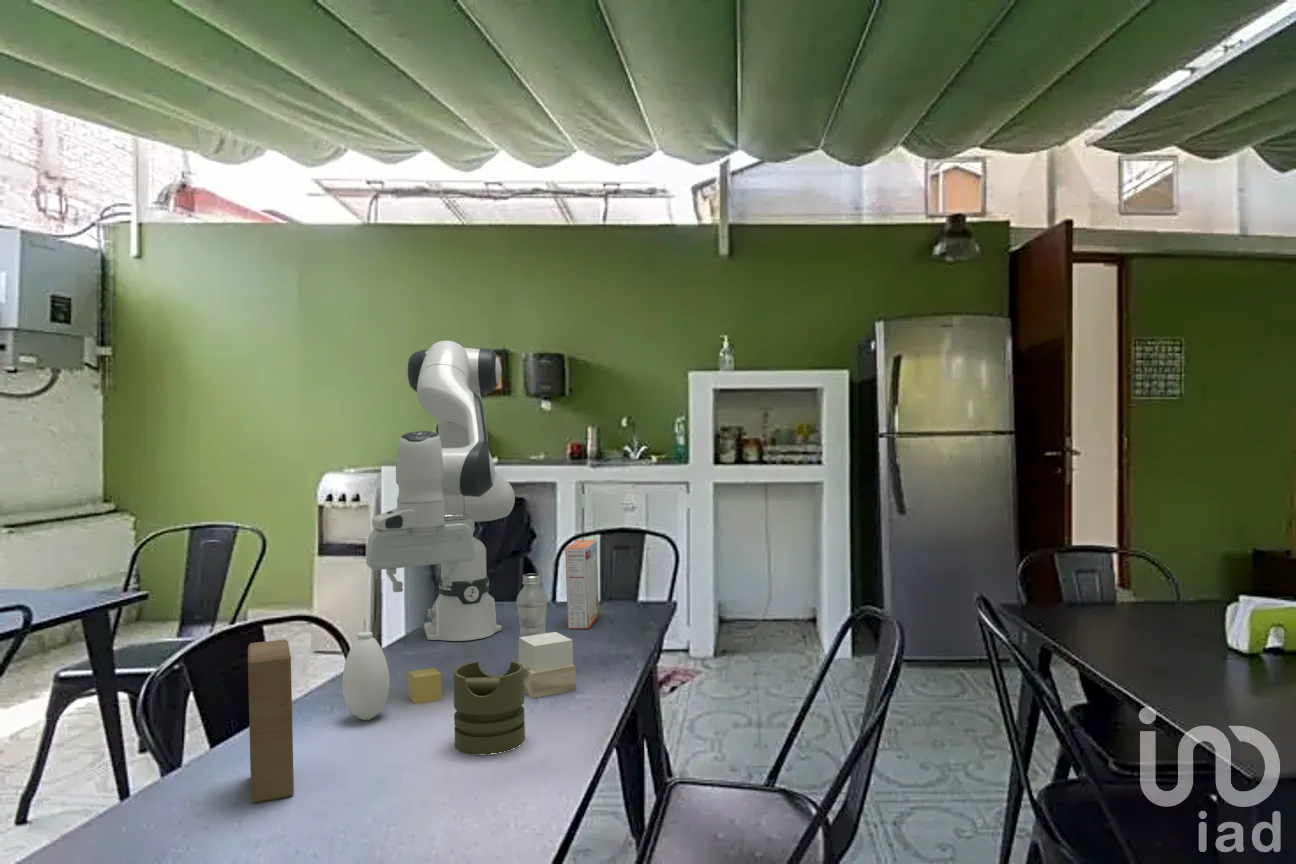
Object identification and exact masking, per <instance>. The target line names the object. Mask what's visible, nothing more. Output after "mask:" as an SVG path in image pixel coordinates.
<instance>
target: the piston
mask: <svg viewBox="0 0 1296 864" xmlns="http://www.w3.org/2000/svg"><path fill="white" fill-rule="evenodd" d="M452 675H453V678H452V679H453V709H455V710H456V711H455V712H454V715H453V716H454V719H453V722H454V747H455V749H456V750H457V751H458V750H459V751H458V752H460V751H461V752H460V753H463V754H466V753H468V754H467V755H471V754H491V753H499V752H504V751H508V750H511V749H513V748H516V747H518V746H519V745H521V744H522V743H523V742H524V740H525V741H526V727H525V723H526V722H525V716H526V715H525V707H524V706H523V705H524V703H525V693H524V667H523V665H522V664H521V663H518V661H514V660H510V667H509V669H508V670H507V672H505V673H504V674H500V675H498V676H497V675H495V676H494V675H490V674H488V673H487V672H484V671H483V670H482V669H481V667H480V664H479V661H472V662H468V663H467V662H466V663H465V664H464V663H463V664H461V665H458V666H457V667H455V669H454V670H453V674H452ZM524 743H525V742H524ZM524 743H523V744H524ZM523 744H522V745H523ZM522 745H521V746H522ZM518 748H519V747H518ZM516 749H517V748H516ZM511 751H512V750H511ZM508 752H509V751H508Z"/></svg>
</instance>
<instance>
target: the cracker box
mask: <svg viewBox="0 0 1296 864" xmlns="http://www.w3.org/2000/svg"><path fill="white" fill-rule="evenodd" d="M564 551H565V552H564V554H565V578H566V579H565V581H566V608H567V609H566V610H567V629H568V630H589V629H590V628H591V627H592V626H593V625H594V623H595V622H596V621H597V620H598V618H599V617H600V601H599V574H598V573H599V571H598V570H599V569H598V541H597V539H595V540H594V539H578V540H576V541H574V542H572V544H570V545H568V546H567V547H565V549H564Z"/></svg>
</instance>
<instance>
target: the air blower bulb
mask: <svg viewBox="0 0 1296 864" xmlns="http://www.w3.org/2000/svg"><path fill="white" fill-rule="evenodd" d="M356 637H357V638H356V640H354V642H353V643H352V645H351V647H350V649H349V651H348V654H347V656H346V659H345V662H344V667H343V673H342V682H341V683H342V696H343V700H344V703H345V705H346V707H347V709H348V711H349V712H350V714H352V715H355V716H356V718H357V719H360V720H363V721H369V720H372V719H373V718H374V717H376V716H378V713H379V712H381V711H382V710H383V709H384V707H385V705H386V702H387V701H388V697H389V693H390V672H389V671H390V670H389V667H388V666H389V665H388V662H387V659H386V656H385V653H384V650H383V649H382V647H381V645H380V644H379V642H378V640H376V638H374V634H373V632H372V631H367V620H366V618H365V617H364V618H363V631H360V632H358V633H357V635H356Z"/></svg>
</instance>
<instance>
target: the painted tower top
mask: <svg viewBox="0 0 1296 864" xmlns="http://www.w3.org/2000/svg"><path fill="white" fill-rule="evenodd" d="M573 641H574V640H573V639H571V638H569V637H568V636H565V635H563V634H561V633H559V632H557V631H554V632H553V631H552V632H546V633H545V634H538V635H532V636H525V637H520V636H519V637H518V651H519V663H521V664H522V665H524V666H526V667H527V668H529V669H531V670H532V671H534V672H539V671H545V670H550V669H556V668H562V667H568V666H573V665H574V650H573V649H574V644H573Z"/></svg>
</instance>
